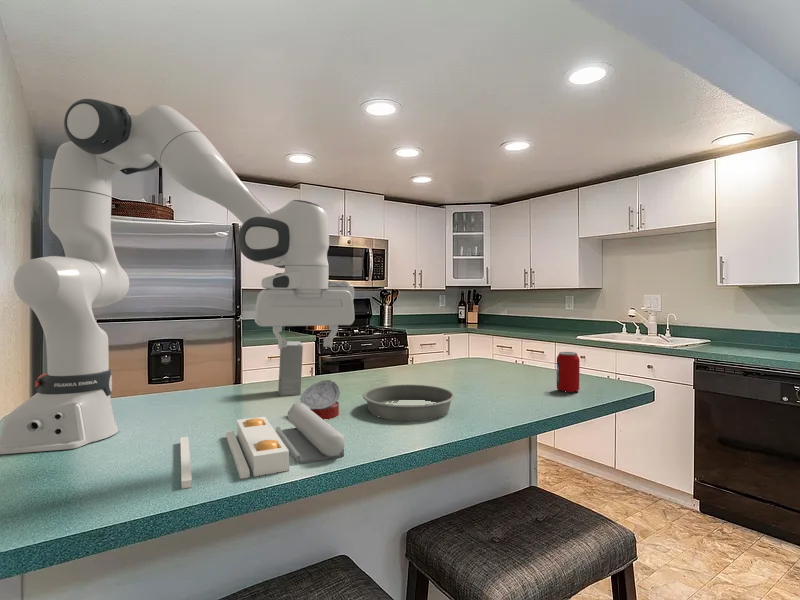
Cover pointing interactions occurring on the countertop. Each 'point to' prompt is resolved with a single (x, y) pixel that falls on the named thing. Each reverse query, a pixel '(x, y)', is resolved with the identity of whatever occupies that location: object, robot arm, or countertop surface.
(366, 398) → the cake pan
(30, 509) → the countertop surface
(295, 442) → the tray
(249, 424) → the rear plunger
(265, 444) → the front plunger
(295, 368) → the skincare box
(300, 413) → the tube
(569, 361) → the beverage can
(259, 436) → the housing
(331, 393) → the canned food
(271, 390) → the countertop surface
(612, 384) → the countertop surface
